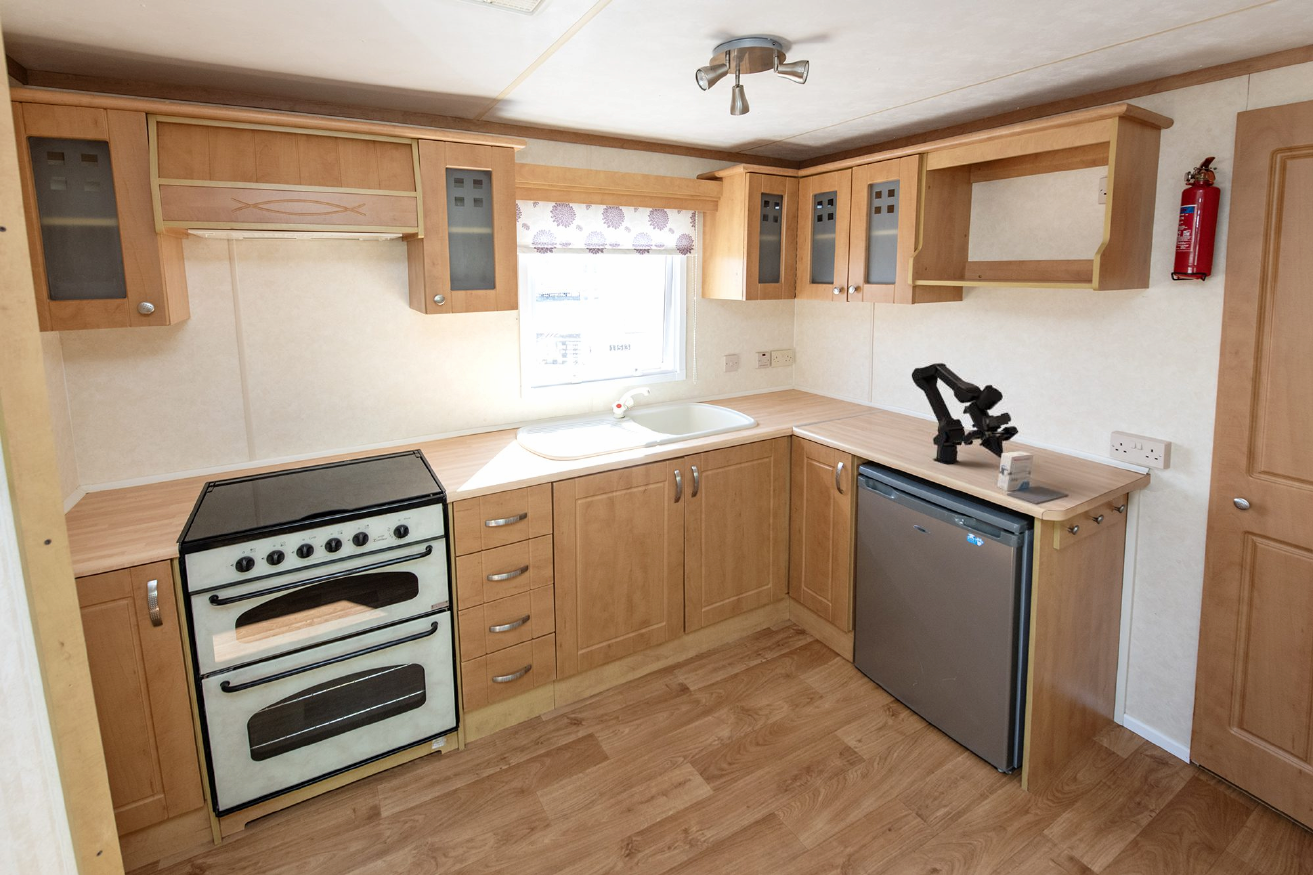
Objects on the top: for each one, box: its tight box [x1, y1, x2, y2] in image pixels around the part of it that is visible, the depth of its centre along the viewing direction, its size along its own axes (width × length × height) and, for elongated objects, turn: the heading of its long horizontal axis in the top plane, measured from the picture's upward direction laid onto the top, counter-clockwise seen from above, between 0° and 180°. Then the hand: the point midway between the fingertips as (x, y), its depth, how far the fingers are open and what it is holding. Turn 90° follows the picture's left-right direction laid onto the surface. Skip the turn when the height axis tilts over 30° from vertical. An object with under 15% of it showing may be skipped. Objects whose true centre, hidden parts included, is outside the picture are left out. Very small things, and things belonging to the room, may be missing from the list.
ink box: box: [997, 450, 1034, 492], centre depth 235 cm, size 9×5×12 cm, turn 106°
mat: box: [1006, 485, 1069, 505], centre depth 230 cm, size 10×16×1 cm, turn 119°
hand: (1001, 457), depth 240 cm, fingers closed
